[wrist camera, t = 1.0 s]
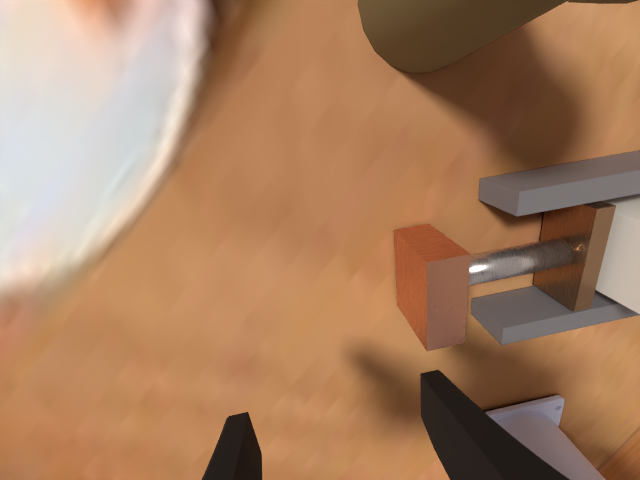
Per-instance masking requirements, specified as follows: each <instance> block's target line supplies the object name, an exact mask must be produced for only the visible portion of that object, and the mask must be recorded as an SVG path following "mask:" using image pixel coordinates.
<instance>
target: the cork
mask: <svg viewBox="0 0 640 480" xmlns="http://www.w3.org/2000/svg"><path fill="white" fill-rule="evenodd" d="M566 1H568V2H577V3H599V4H609V3H630V2H634V1H638V0H358V8H359V12H360V17H361V21H362V26H363V30H364V32H365V34H366V36H367V38H368V39H369V41H370V43H371V45H372V47H373V48H374V50H375V52H376V53H378V54H379V55H380V56H381V57H382V58H383V59H384V60H385V61H386V62H387V63H388V64H389V65H391V66H393V67H395V68H398V69H400V70H403V71H405V72H408V73H429V72H432V71H435V70H438V69H441V68H443V67H446V66H448V65H450V64H452V63H454V62H456V61H457V60H459V59H461V58H463V57H465V56H467V55H469V54H470V53H472V52H474V51H476V50H478V49H480V48H481V47H483V46H485V45H487V44H489V43H491V42H492V41H494V40H496V39H498V38H500V37H502V36H504V35H505V34H507V33H509V32H511V31H513V30H515V29H516V28H518V27H520V26H522V25H524V24H526V23H527V22H529V21H531V20H533V19H535V18H537V17H539V16H540V15H542V14H544V13H546V12H548V11H550V10H551V9H553V8H555V7H557V6H559V5H561V4H562V3H564V2H566Z"/></svg>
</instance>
